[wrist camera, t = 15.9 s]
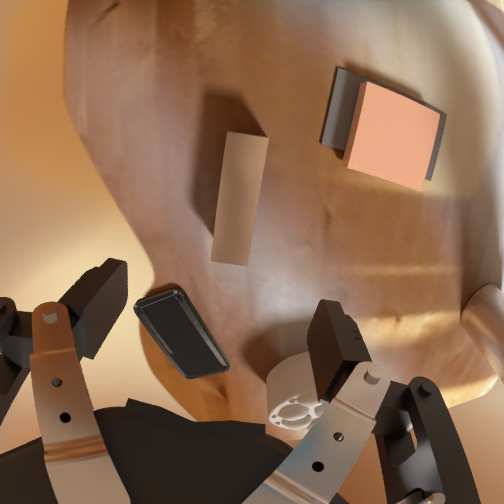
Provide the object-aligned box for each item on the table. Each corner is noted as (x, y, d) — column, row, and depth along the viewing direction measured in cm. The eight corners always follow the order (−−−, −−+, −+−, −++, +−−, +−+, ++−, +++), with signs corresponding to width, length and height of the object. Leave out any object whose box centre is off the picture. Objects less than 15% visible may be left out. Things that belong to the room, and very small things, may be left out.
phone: (179, 288, 34) (232, 370, 39) (181, 283, 35) (232, 364, 40) (129, 306, 35) (185, 380, 41) (132, 301, 36) (186, 375, 42)
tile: (410, 186, 29) (429, 113, 25) (420, 191, 27) (440, 114, 23) (340, 164, 28) (359, 84, 24) (347, 167, 26) (367, 81, 22)
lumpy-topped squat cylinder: (351, 383, 42) (363, 424, 34) (274, 401, 44) (277, 444, 36) (346, 340, 38) (363, 386, 30) (257, 362, 40) (258, 410, 32)
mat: (445, 114, 25) (446, 114, 25) (429, 180, 29) (430, 181, 28) (337, 68, 24) (338, 67, 24) (320, 144, 28) (321, 144, 27)
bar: (266, 136, 28) (268, 138, 23) (248, 245, 32) (247, 266, 28) (231, 131, 27) (227, 132, 23) (216, 240, 32) (210, 261, 28)
